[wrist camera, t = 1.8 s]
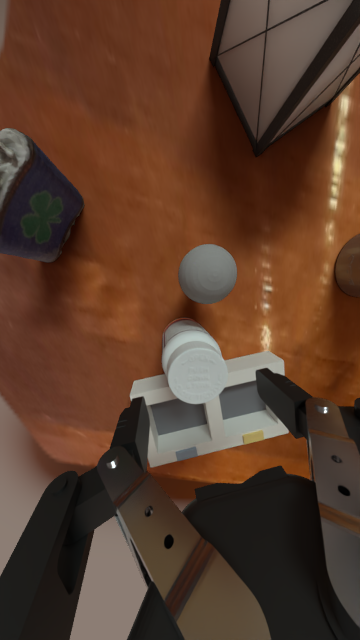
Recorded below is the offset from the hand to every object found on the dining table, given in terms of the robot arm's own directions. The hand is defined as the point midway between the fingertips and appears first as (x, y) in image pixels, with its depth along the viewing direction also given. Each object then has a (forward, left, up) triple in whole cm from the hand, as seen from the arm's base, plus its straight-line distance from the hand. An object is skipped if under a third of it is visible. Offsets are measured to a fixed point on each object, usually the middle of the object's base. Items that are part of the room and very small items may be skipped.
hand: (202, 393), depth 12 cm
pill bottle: (0, 0, -14) cm, 14 cm away
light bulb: (-3, -8, -14) cm, 16 cm away
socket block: (-2, +11, -14) cm, 18 cm away
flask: (+12, -17, -14) cm, 25 cm away
